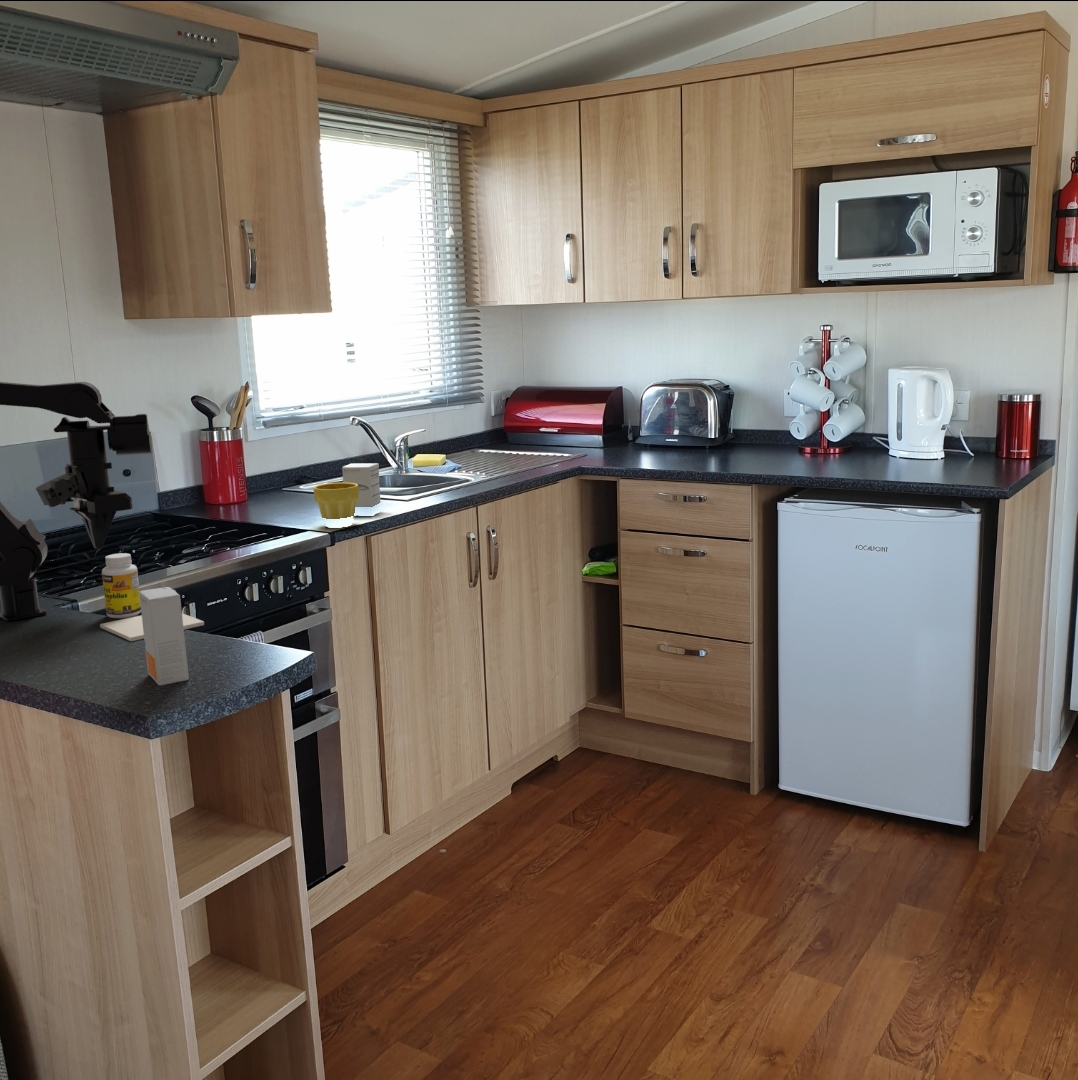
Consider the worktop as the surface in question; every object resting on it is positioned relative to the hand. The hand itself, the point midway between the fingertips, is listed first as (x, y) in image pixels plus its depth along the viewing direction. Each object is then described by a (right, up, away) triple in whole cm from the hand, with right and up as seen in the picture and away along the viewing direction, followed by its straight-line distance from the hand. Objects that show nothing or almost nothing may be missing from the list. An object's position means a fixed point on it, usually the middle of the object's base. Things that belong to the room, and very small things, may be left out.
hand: (98, 548), depth 189 cm
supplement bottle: (+6, -11, -4) cm, 13 cm away
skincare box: (+25, -18, -39) cm, 49 cm away
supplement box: (+32, +8, +87) cm, 93 cm away
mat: (+13, -12, -12) cm, 22 cm away
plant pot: (+28, +4, +72) cm, 78 cm away
